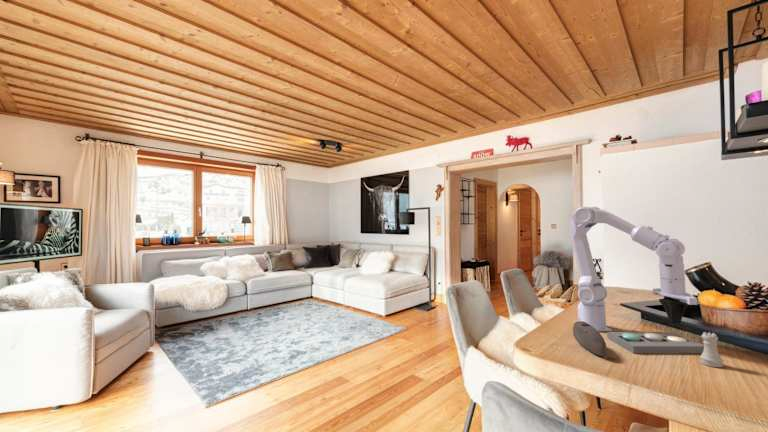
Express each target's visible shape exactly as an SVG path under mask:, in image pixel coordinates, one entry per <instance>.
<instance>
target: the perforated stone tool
mask: <svg viewBox="0 0 768 432" xmlns="http://www.w3.org/2000/svg"><path fill="white" fill-rule="evenodd" d="M572 334H573V337H574V339H575V340H576V341H577V342H578V344H579V345H580V346H581V347H583V348H584V349H586V350H587V351H589V352H590V353H592V354H594V355H597V356H599V357H603V356H605V355H606V353H607V343H606V341H605V339H604V337H603V335H602V334H601V333H600V331H597V330H596V329H595V328H594V327H593V326H591V325H589V324H588V323H586V322H583V321H578V320H577V321H576V322H574V323H573V327H572Z"/></svg>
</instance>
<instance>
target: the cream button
mask: <svg viewBox="0 0 768 432" xmlns="http://www.w3.org/2000/svg"><path fill="white" fill-rule="evenodd" d="M667 339H670V340H672V341H674V342H687V340H686V339H685V338H682V337H677V336H668V337H667Z"/></svg>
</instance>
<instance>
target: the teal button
mask: <svg viewBox="0 0 768 432" xmlns="http://www.w3.org/2000/svg"><path fill="white" fill-rule="evenodd" d="M622 338H623V339H624V340H627V341H632V342H639V341H640V336H639V335H636V334H631V333H623V334H622Z"/></svg>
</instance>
